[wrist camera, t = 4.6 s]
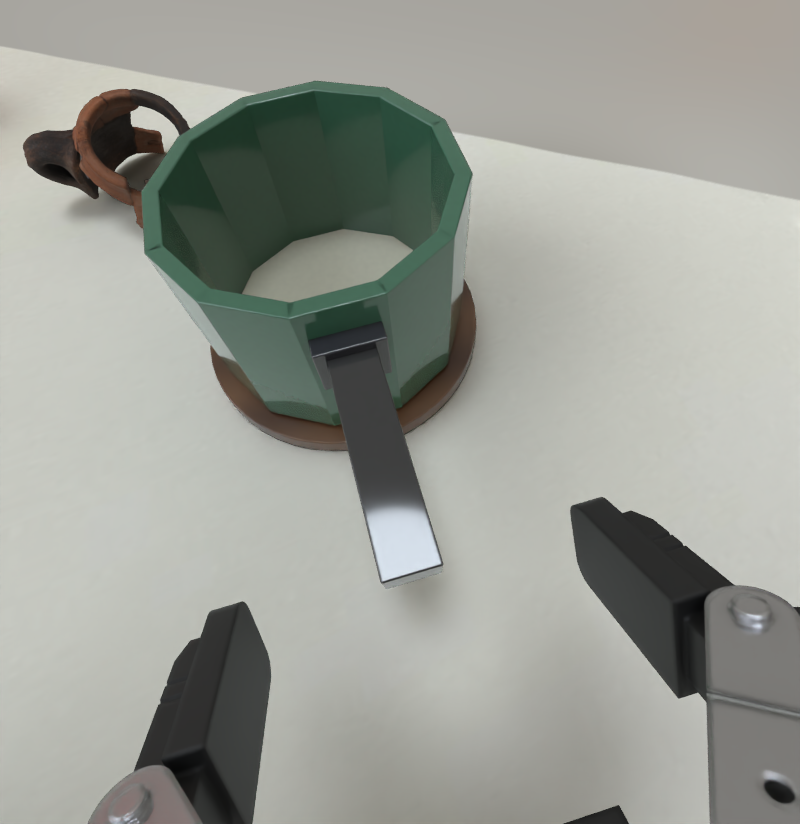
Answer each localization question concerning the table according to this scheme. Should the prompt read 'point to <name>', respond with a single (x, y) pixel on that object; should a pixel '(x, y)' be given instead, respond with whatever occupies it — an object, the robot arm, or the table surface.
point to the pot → (325, 272)
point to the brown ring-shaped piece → (101, 145)
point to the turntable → (333, 436)
